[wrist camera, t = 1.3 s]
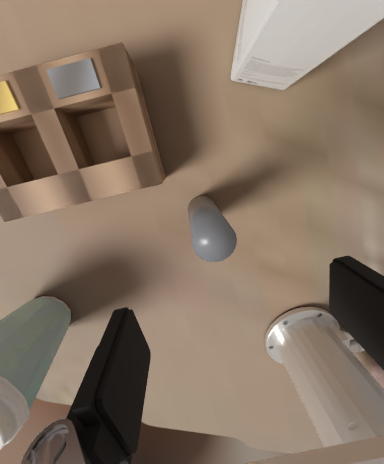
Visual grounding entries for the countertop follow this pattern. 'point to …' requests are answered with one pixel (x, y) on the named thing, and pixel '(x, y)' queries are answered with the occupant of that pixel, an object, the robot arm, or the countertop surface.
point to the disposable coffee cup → (27, 357)
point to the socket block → (74, 133)
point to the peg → (210, 230)
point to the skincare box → (295, 36)
